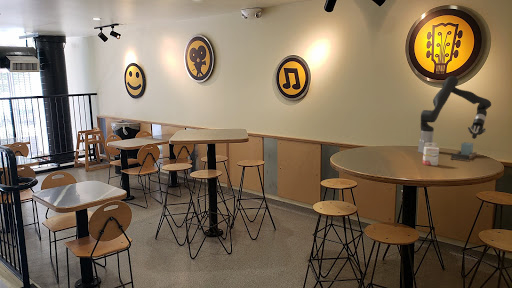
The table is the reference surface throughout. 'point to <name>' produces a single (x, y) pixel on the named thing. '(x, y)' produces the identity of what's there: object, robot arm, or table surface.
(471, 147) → the slate block
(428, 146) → the ink cartridge box
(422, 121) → the robot arm
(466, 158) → the walnut chute
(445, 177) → the table surface
